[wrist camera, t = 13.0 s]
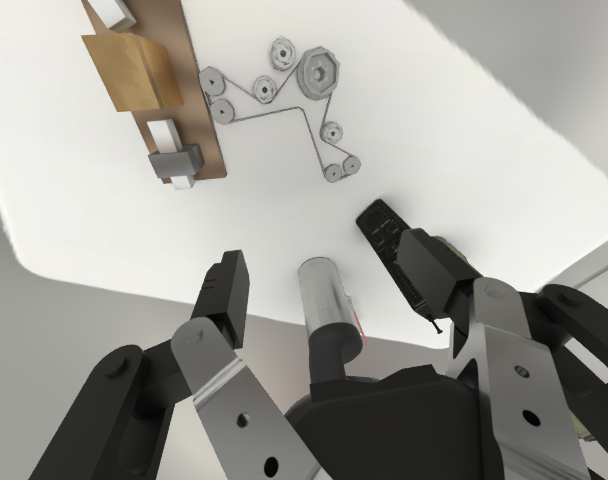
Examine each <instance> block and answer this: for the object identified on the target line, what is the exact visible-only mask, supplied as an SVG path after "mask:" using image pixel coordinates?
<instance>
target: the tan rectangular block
mask: <svg viewBox="0 0 608 480" xmlns="http://www.w3.org/2000/svg"><path fill="white" fill-rule="evenodd" d="M81 37H82V39H83V41H84V43H85V46H86V48H87V50H88V52H89V54H90V56H91V58H92V60H93V62H94V64H95V66H96V68H97V71H98V73H99V75H100V77H101V79H102V81H103V83H104V85H105V87H106V89H107V91H108V93H109V96H110V98H111V100H112V102H113V104H114V106H115V108H116V110H117V112H124V111H136V110H149V109H161V108H167V107H173V106H179V105H184V102H183V99H182V96H181V92H180V89H179V86H178V83H177V80H176V77H175V74H174V71H173V68H172V64H171V61H170V58H169V55H168V52H167V49H166V47H165V46H162V45H160V44H157V43H155V42H153V41H150V40H148V39H145V38H143V37H140V36H138V35H135V34H133V33H119V34H101V35H84V36H81Z"/></svg>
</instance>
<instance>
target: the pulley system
mask: <svg viewBox="0 0 608 480" xmlns="http://www.w3.org/2000/svg"><path fill="white" fill-rule="evenodd" d="M280 53H283V54H284V57H282V56H281V55H280ZM270 56H271V61H272V64H273V68H275V69H278V70H280V71H284V70H286V69H288V68H289V67H290V66H291V65H292V64H293V61H294V59H295V47H294V46H293V45H292V43H291V42H290V41H289V40H288V39H286V38H284V37H282V36H281V37H280V38H278V39H277V40H276V41H275V42H274V43H273V45H272V49H271V52H270ZM297 66H298V72H297V73H298V78H297V79H298V83H299V85H300V87H301V88H302V90H303V92H304V93H305V95H306V96H307V97H308V98H311V99H313V100H320V99H324V98H327V97H328V96H329V95H330V97H329V101H328V104H327V108H326V111H325V115H324V118H323V122H322V126H321V129H320V136H321V140H323V141H325V142H326V143H328V144H330V145H332V144H333V145H332V146H334V145H335V144H336V143H337V142H338V141H339V140H340V139H341V137H342V133H343V131H342V127H340V126H339V125H338V124H336V123H333V122H328V123H325V124H324V122H325V118H326V114H327V111H328V107H329V103H330V100H331V96H332V92H333V90H334V89H335V88H336V86H337V83H338V75H339V66H340V63H339V62H338V61H337V60H336V58H335V56H334V54H332V53H331V52H330V51H329V50H326V49H325V48H323V47H322V46H320V47H317V48H315V49H312V50H309V51H307V52H305V53H304V55H303V58H302V59H301V61H300V62H299V63H298V65H297ZM297 66H296V67H297ZM296 67H295V69H296ZM295 69H294V70H295ZM315 69H318V71H319V73H320V75H321V77H320V79H319V80H318V81H317V80H316V79H314V70H315ZM294 70H293V71H292V73H293V72H294ZM292 73H291V74H292ZM291 74H290V75H289V77H290V76H291ZM223 77H224V76H223V75H222V74H220V73H219V72H218V71H216V70H215V69H213V68H211V67H207V68H206V69H204V70H203V71H201V72H200V74H199V80H200V85H201V87H202V90H203V93H204V95H205V98H206V101H207V103H208V106H209V109H210V111H211V114H212V117H213V118H214V119H215V120H216V122H217V123H221V124H229V123H233V122H237V121H242V120H246V119H250V118H255V117H259V116H264V115H268V114H273V113H277V112H282V111H286V110H291V109H296V108H299V107H294V108H289V109H285V110H280V111H276V112H271V113H266V114H262V115H257V116H253V117H248V118H243V119H239V120H234V121H231V120H232V119H233V118H234V109H233V107H232V106H231V105H230V104H229V102H228V101H227V100H217V101H215V102H214V103H213V104H212V105H210V102H209V99H208V97H207V94H206V93H208V94H209V95H210V96H213V95H222V93H223V91H224V89H225V84H224V80H223ZM289 77H288V78H289ZM224 78H225V79H227V78H226V77H224ZM288 78H287V79H286V81H287V80H288ZM227 80H228V81H230V80H229V79H227ZM212 81H214V83H213V84H211V82H212ZM286 81H285V82H286ZM230 82H231V83H233V82H232V81H230ZM285 82H284V83H283V85H284V84H285ZM233 84H234V83H233ZM234 85H236V84H234ZM283 85H282V86H283ZM236 86H237V85H236ZM282 86H281V87H280V89H281V88H282ZM237 87H239V86H237ZM263 87H265V88H266V89H267V92H266V93H263V91H262V88H263ZM239 88H240V87H239ZM253 88H254V93H255V95H256V97H257V98H258V99H259V100H258V99H257V98H255V97H254V96H252V95H251V94H249V93H248V92H246V91H245V90H243V89H242V88H240V89H242V90H243V91H245V92H246V93H248V94H249V95H251V96H252V97H254V98H255V99H256V100H258V101H259V102H261V103H262V104H267V103H271V101H272V100H273V99H274V97H275V96H276V95H277V93H278V92H279V90H280V89H279V90H278V92H277V93H276V90H275V85H274V82H273V81H272V80H271V79H270V78H268V77H267V76H262V77H259V78H257V80H256V81H255V83H254V87H253ZM269 101H270V102H269ZM266 102H267V103H266ZM300 109H301V108H300ZM301 110H302V111H303V112H304V110H303V109H301ZM222 111H224V112H225V113H222ZM304 115H305V112H304ZM305 118H306V115H305ZM306 121H307V118H306ZM307 124H308V121H307ZM308 127H309V124H308ZM309 131H310V134H311V137H312V140H313V143H314V146H315V149H316V152H317V155H318V158H319V161H320V164H321V167H322V171H323V174H324V177H325V178H326V179H327V180H328V181H329V182H331V183H333V182H337V181H339V180H341V179H343V178H345V177H348V176H350V175H352V174H354V173H357V171H358V170H359V168H360V166H361V163H360V161H359V159H358V158H357V157H355V156H353V155H351V154H349V153H347V152H345V151H343V150H341V149H339V148H338V147H336V146H334V147H336V148H338V149H339V150H341V151H343V152H345V153H347V154H349V155H351V156H352V157H349V158H347V159H346V160H345V161H344V165H343V169H344V171H345V172H346V174H347V175H344V176H342V173H341V167H340V166H337V165H335V164H331V165H330V166H329V167H327V168H325V171H324V168H323V165H322V162H321V159H320V156H319V153H318V150H317V147H316V144H315V142H314V139H313V136H312V133H311V130H310V127H309ZM331 132H332V133H331ZM341 176H342V177H341Z"/></svg>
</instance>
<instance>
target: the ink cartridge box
mask: <svg viewBox="0 0 608 480" xmlns="http://www.w3.org/2000/svg"><path fill="white" fill-rule="evenodd" d="M347 300H348V303H349V306H350V309H351V311H352V314H353V317H354V319H355V322H356V325H357V328H358V330H359V333H362V335H363V337H364V339H365V336H364V333H363V331H362V328H361V326H360V323H359V321H358V319H357V316H356V314H355V311H354V308H353V306H352V303H351V300H350V297H349V296H347ZM365 342H366V344H367V341H366V339H365ZM368 348H369V347H368Z"/></svg>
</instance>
